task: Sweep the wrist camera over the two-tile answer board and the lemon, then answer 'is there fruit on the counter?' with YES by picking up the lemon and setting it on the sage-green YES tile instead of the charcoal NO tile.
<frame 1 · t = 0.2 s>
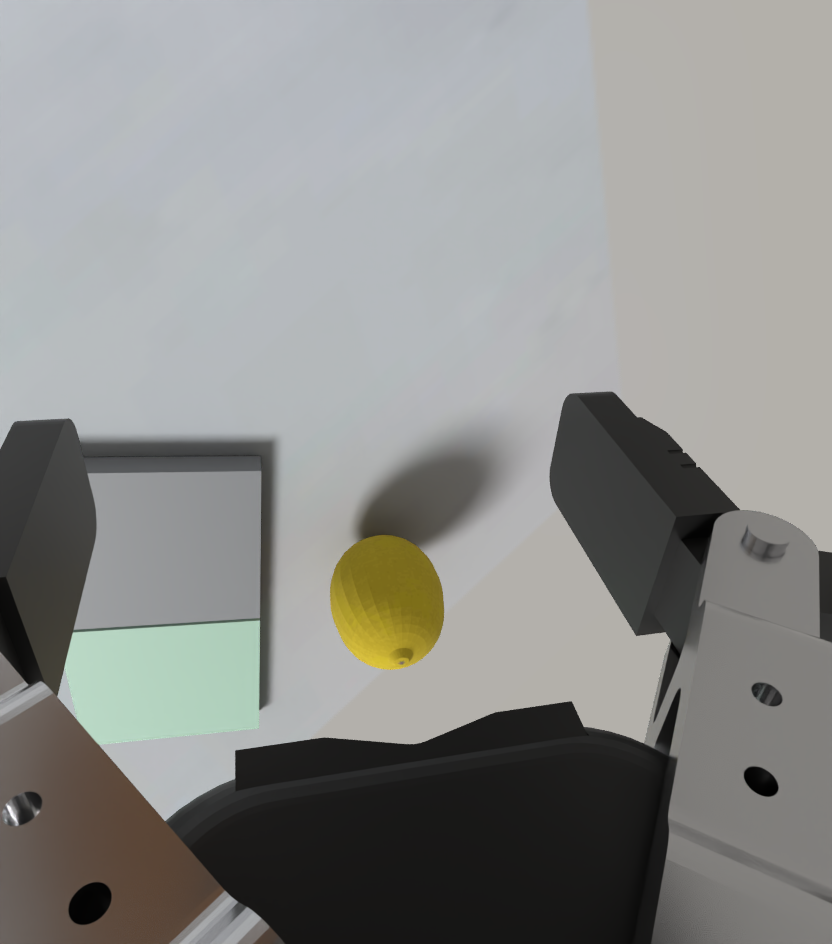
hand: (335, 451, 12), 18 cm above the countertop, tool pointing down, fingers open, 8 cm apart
answer board: (163, 608, 38), on the countertop
lemon: (373, 541, 38), on the countertop
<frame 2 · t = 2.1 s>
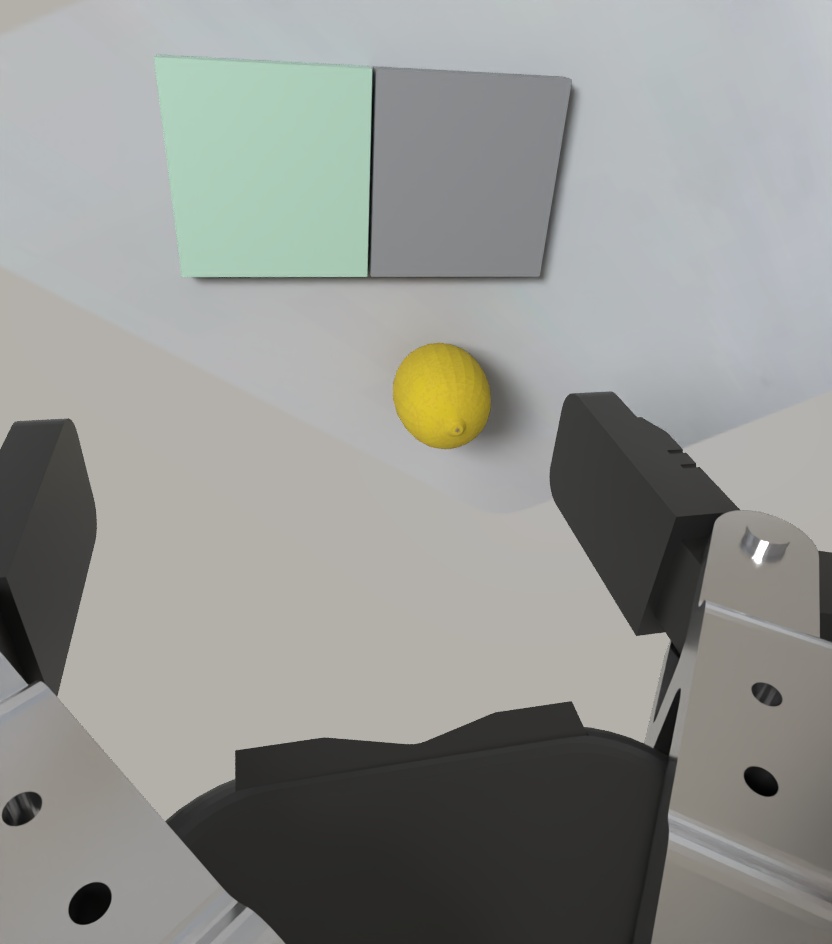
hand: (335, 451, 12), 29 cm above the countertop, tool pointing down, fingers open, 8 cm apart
answer board: (368, 175, 37), on the countertop
lemon: (427, 362, 44), on the countertop
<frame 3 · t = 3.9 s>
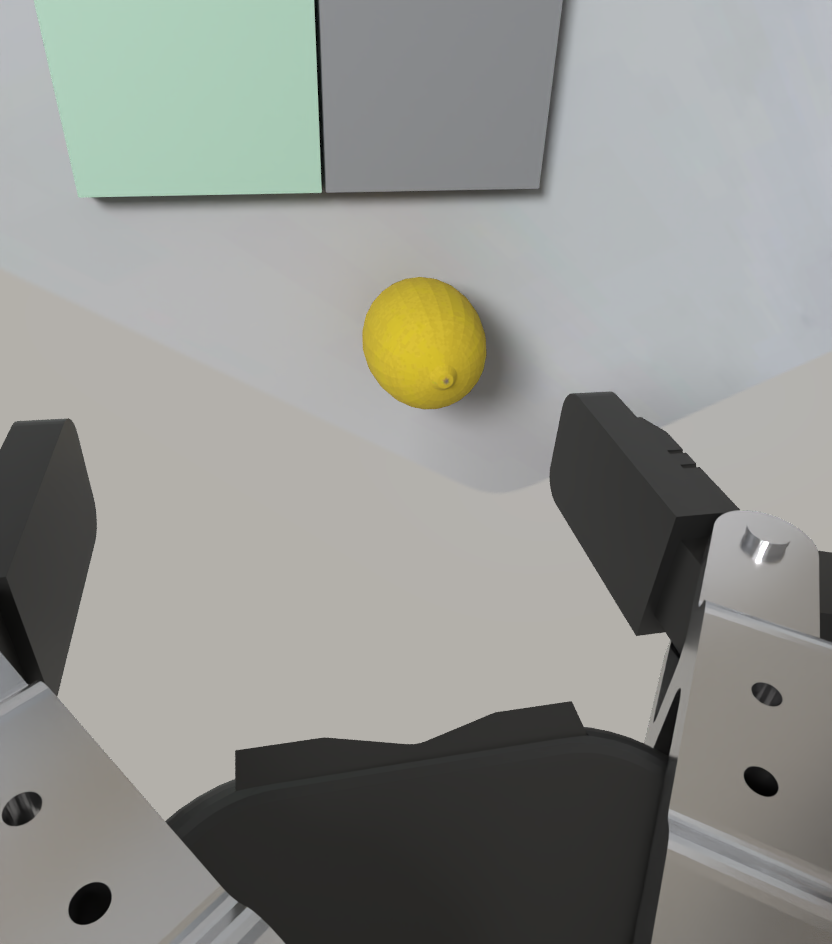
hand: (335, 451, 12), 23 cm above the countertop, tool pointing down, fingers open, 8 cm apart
answer board: (315, 56, 29), on the countertop
lemon: (404, 308, 36), on the countertop
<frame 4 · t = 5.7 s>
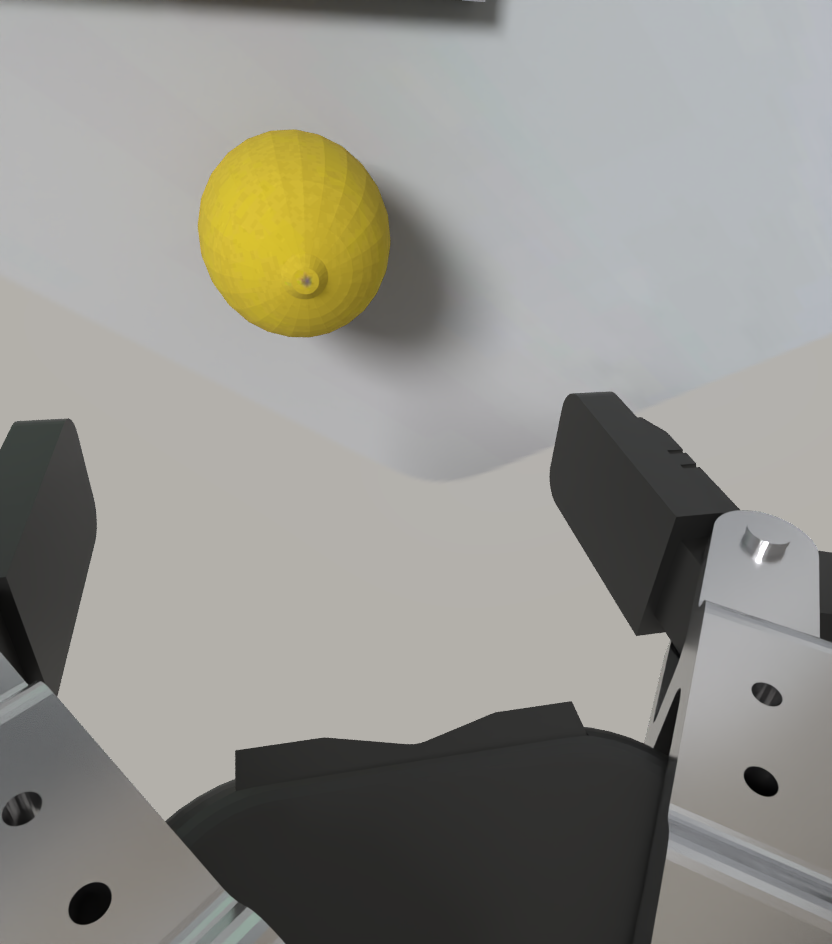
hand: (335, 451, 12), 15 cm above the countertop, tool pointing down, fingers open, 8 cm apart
lemon: (288, 197, 24), on the countertop
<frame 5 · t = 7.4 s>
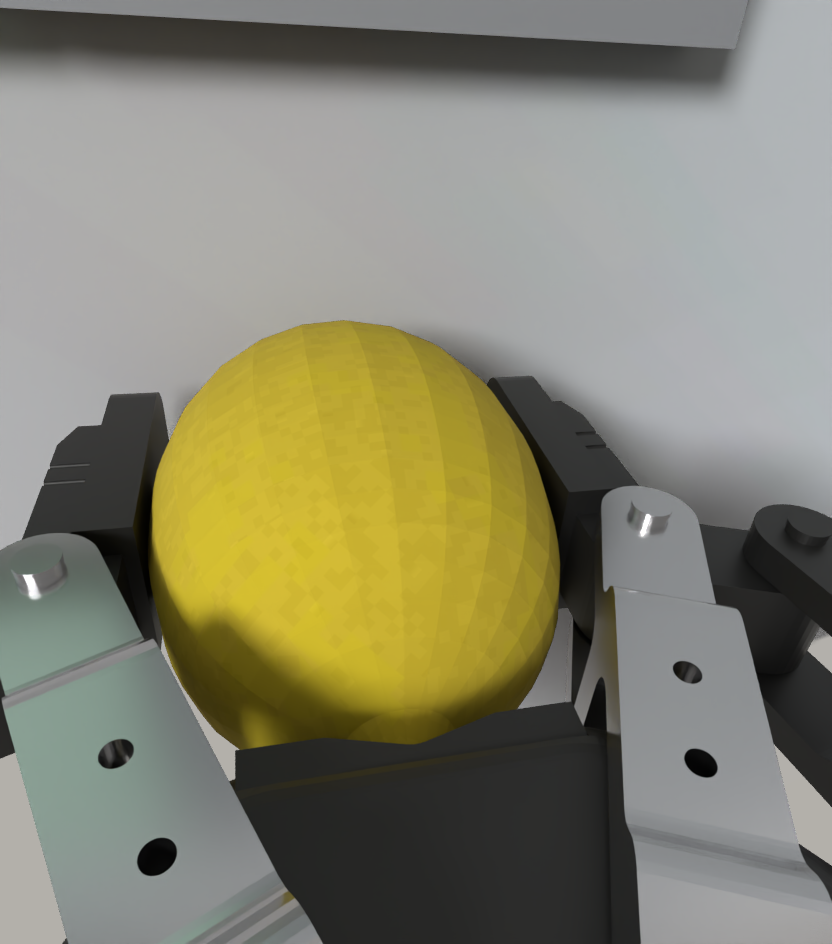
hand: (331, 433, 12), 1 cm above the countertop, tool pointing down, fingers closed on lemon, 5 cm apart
lemon: (323, 390, 14), on the countertop, touching gripper
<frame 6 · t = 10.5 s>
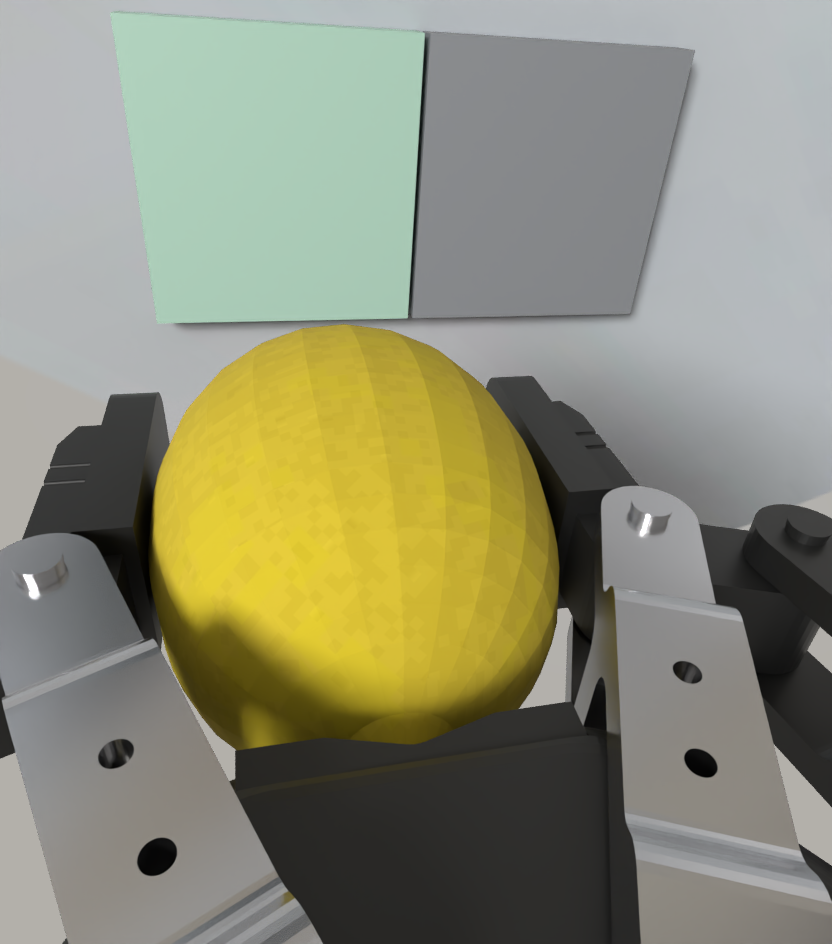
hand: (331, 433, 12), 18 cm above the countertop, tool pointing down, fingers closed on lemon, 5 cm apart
answer board: (411, 183, 27), on the countertop
lemon: (323, 393, 14), point 16 cm above the countertop, touching gripper
when the fingers open (4 cm above the countertop, at t = 13.5 s): lemon drops 1 cm, resting on answer board.
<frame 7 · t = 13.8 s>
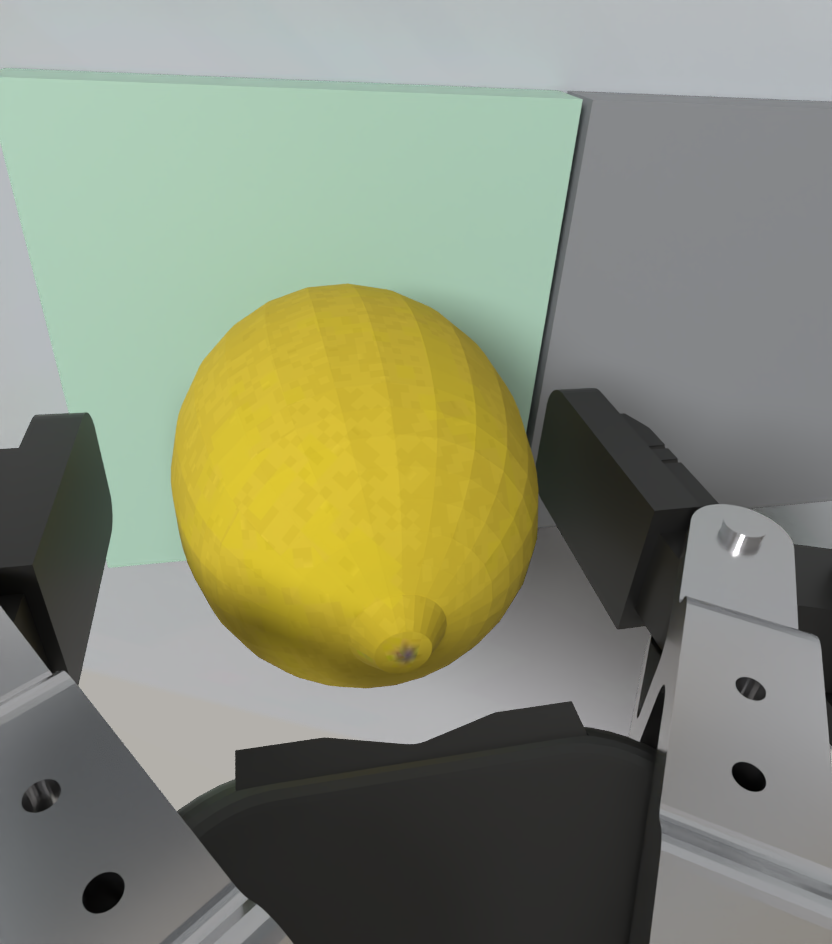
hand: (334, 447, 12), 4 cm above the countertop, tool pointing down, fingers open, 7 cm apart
answer board: (525, 331, 17), on the countertop
lemon: (323, 361, 15), point 1 cm above the countertop, touching answer board
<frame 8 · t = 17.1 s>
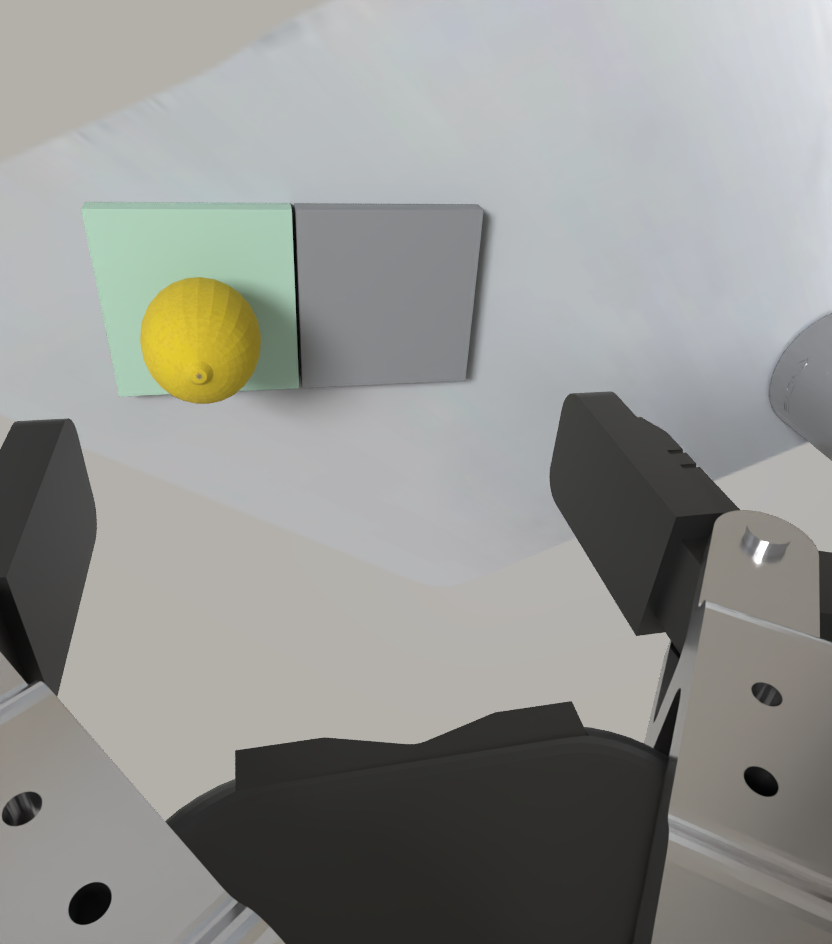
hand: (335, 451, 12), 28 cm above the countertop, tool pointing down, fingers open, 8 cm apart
answer board: (295, 297, 39), on the countertop
lemon: (205, 306, 37), point 1 cm above the countertop, touching answer board
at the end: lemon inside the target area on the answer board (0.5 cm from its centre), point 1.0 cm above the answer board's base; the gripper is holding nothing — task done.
